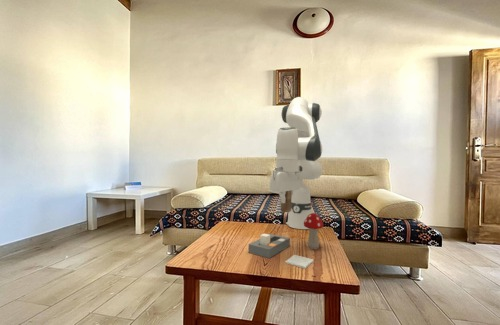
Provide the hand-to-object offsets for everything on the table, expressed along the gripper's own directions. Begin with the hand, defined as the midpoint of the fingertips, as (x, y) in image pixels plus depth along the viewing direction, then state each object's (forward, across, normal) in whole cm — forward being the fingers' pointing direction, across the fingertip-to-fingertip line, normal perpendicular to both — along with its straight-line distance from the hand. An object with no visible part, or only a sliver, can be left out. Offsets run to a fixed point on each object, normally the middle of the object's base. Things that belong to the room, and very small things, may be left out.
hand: (286, 202), depth 95 cm
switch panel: (+22, +4, +10) cm, 24 cm away
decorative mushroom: (+22, +18, -4) cm, 29 cm away
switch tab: (+20, 0, +10) cm, 22 cm away
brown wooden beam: (+4, 0, 0) cm, 4 cm away
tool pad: (+22, -1, -6) cm, 23 cm away
